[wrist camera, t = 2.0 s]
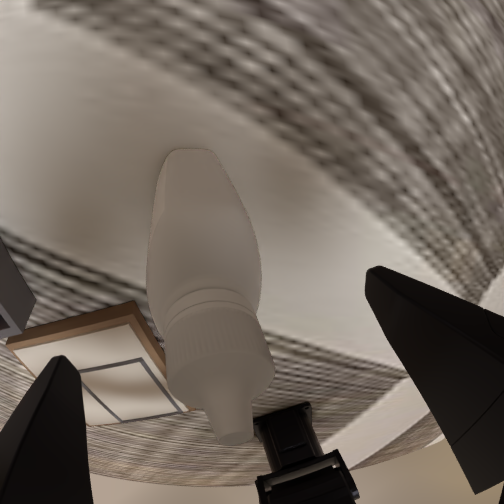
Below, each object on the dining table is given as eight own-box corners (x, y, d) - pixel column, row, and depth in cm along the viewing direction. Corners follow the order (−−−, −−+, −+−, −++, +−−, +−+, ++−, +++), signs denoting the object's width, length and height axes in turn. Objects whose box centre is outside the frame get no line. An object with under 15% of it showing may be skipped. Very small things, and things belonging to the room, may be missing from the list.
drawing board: (194, 398, 24) (196, 413, 23) (89, 416, 23) (88, 429, 21) (134, 300, 17) (132, 317, 16) (9, 333, 16) (4, 347, 15)
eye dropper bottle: (127, 227, 15) (94, 465, 5) (180, 131, 13) (207, 307, 3) (198, 260, 17) (246, 480, 7) (255, 175, 15) (403, 367, 5)
